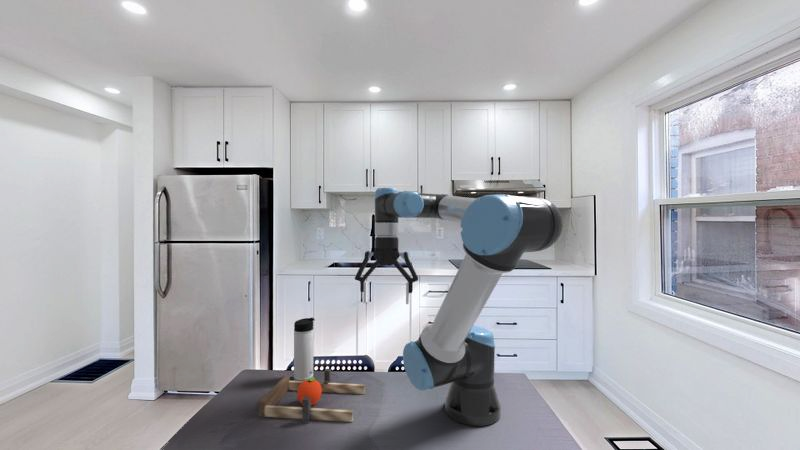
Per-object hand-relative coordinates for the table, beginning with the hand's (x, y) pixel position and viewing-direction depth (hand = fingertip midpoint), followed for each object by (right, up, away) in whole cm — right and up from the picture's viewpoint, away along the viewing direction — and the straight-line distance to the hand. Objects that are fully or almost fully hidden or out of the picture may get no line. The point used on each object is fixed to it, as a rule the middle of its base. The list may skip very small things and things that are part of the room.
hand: (386, 302), depth 111 cm
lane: (-20, -27, -11) cm, 35 cm away
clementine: (-22, -27, -11) cm, 36 cm away
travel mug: (-28, -27, +5) cm, 39 cm away
